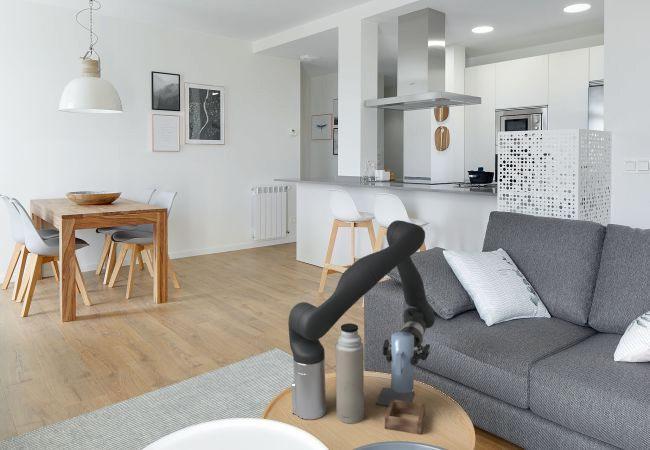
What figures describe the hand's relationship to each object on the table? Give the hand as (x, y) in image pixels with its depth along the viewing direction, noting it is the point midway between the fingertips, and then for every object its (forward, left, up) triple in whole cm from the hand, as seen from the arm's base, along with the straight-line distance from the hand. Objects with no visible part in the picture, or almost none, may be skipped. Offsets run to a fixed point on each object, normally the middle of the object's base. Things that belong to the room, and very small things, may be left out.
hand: (401, 360), depth 147 cm
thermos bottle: (-14, -3, -18) cm, 23 cm away
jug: (0, +1, -9) cm, 10 cm away
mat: (-3, +10, -18) cm, 21 cm away
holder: (+2, -2, -18) cm, 18 cm away
